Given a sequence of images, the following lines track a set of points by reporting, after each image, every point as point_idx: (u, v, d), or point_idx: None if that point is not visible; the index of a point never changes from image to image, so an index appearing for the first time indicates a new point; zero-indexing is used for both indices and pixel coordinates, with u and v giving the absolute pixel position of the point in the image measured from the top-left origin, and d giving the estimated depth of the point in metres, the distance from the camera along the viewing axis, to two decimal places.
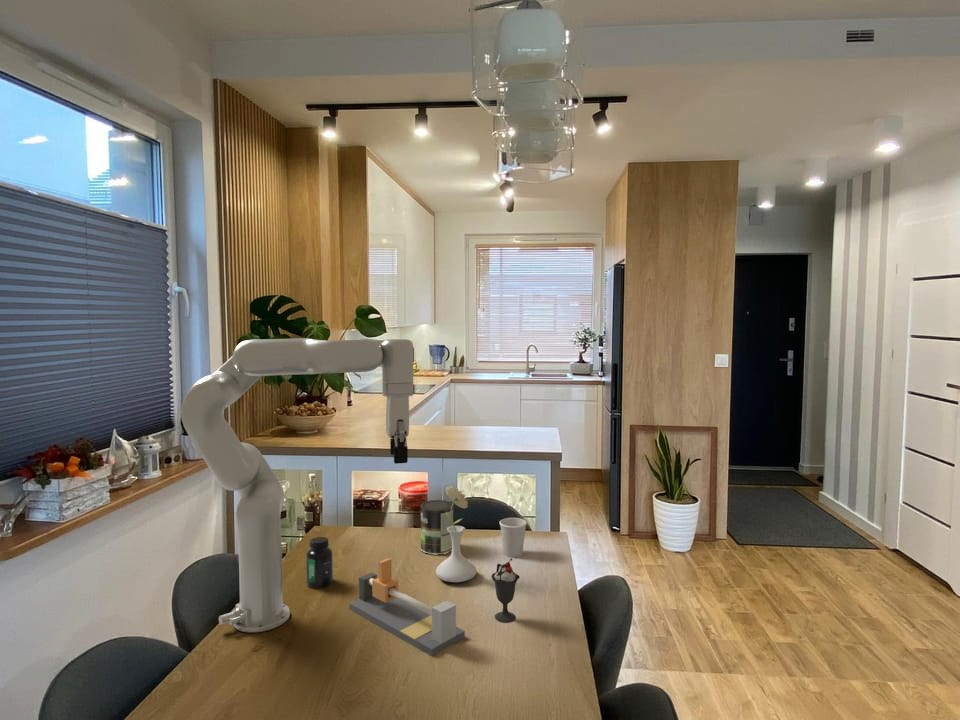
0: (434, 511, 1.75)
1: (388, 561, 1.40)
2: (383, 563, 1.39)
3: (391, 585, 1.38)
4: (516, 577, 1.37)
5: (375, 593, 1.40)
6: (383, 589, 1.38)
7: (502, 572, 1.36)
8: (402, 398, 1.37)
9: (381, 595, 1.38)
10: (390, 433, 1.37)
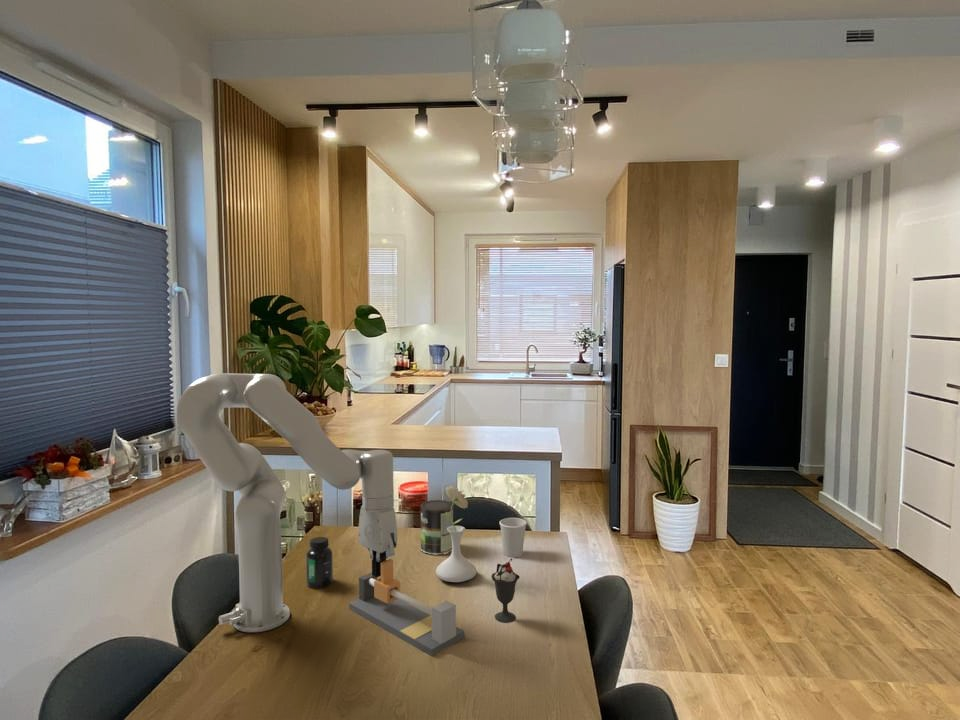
0: (434, 511, 1.75)
1: (390, 562, 1.40)
2: (385, 564, 1.38)
3: (393, 586, 1.38)
4: (516, 577, 1.37)
5: (377, 594, 1.39)
6: (384, 590, 1.37)
7: (502, 572, 1.36)
8: (391, 511, 1.38)
9: (383, 596, 1.38)
10: (383, 549, 1.36)
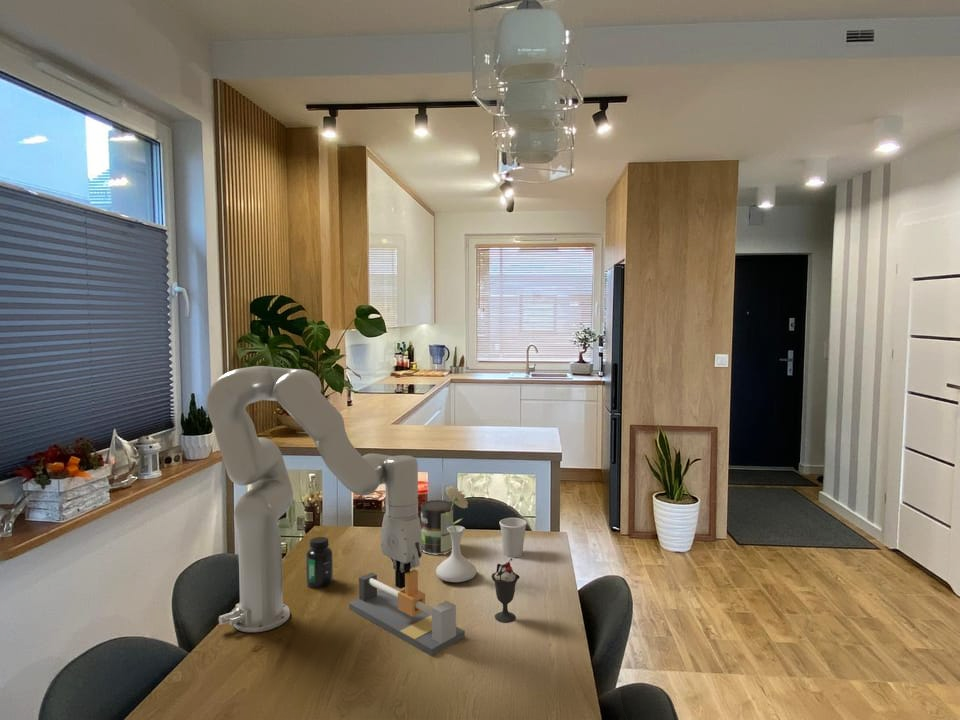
0: (434, 511, 1.75)
1: (415, 573, 1.33)
2: (409, 575, 1.32)
3: (418, 598, 1.32)
4: (516, 577, 1.37)
5: (401, 606, 1.33)
6: (409, 602, 1.31)
7: (502, 572, 1.36)
8: (416, 519, 1.32)
9: (407, 608, 1.32)
10: (408, 559, 1.30)
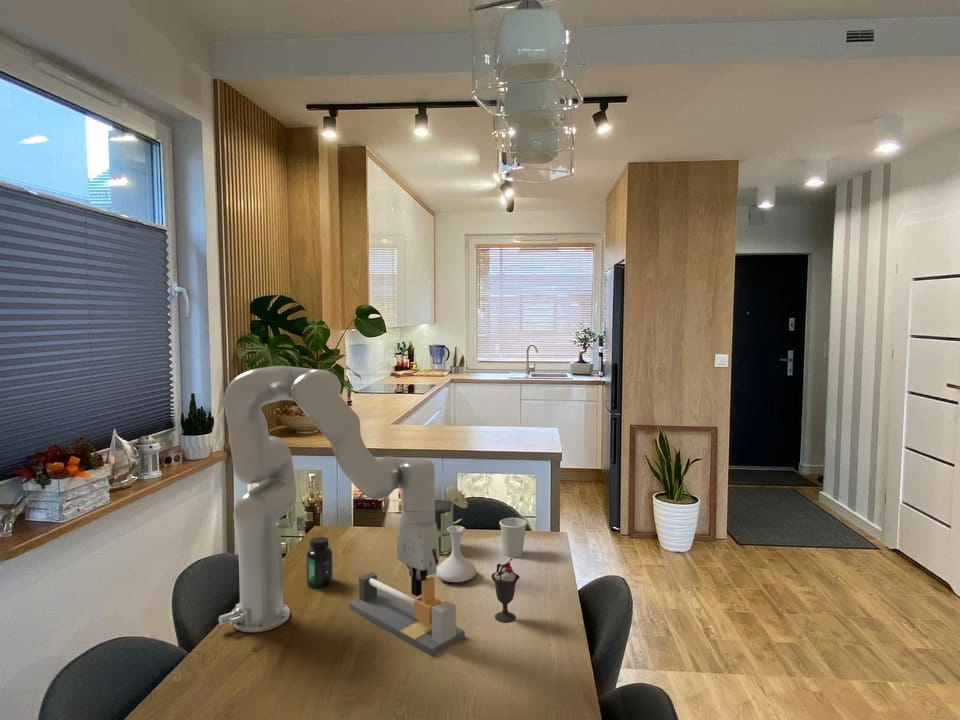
0: None
1: (431, 580, 1.30)
2: (426, 582, 1.28)
3: None
4: (516, 577, 1.37)
5: (417, 615, 1.29)
6: (426, 610, 1.27)
7: (502, 572, 1.36)
8: (433, 525, 1.28)
9: (424, 617, 1.28)
10: (425, 566, 1.26)
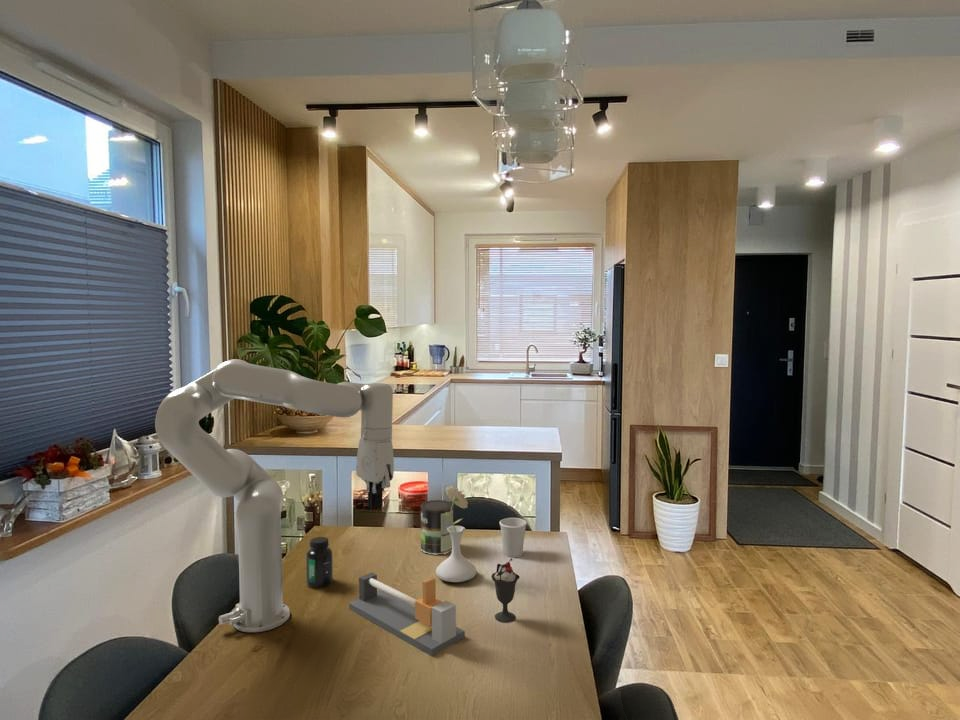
0: (434, 511, 1.75)
1: (432, 581, 1.29)
2: (427, 583, 1.28)
3: None
4: (516, 577, 1.37)
5: (418, 615, 1.29)
6: (427, 611, 1.27)
7: (502, 572, 1.36)
8: (388, 443, 1.39)
9: (425, 618, 1.27)
10: (379, 479, 1.37)
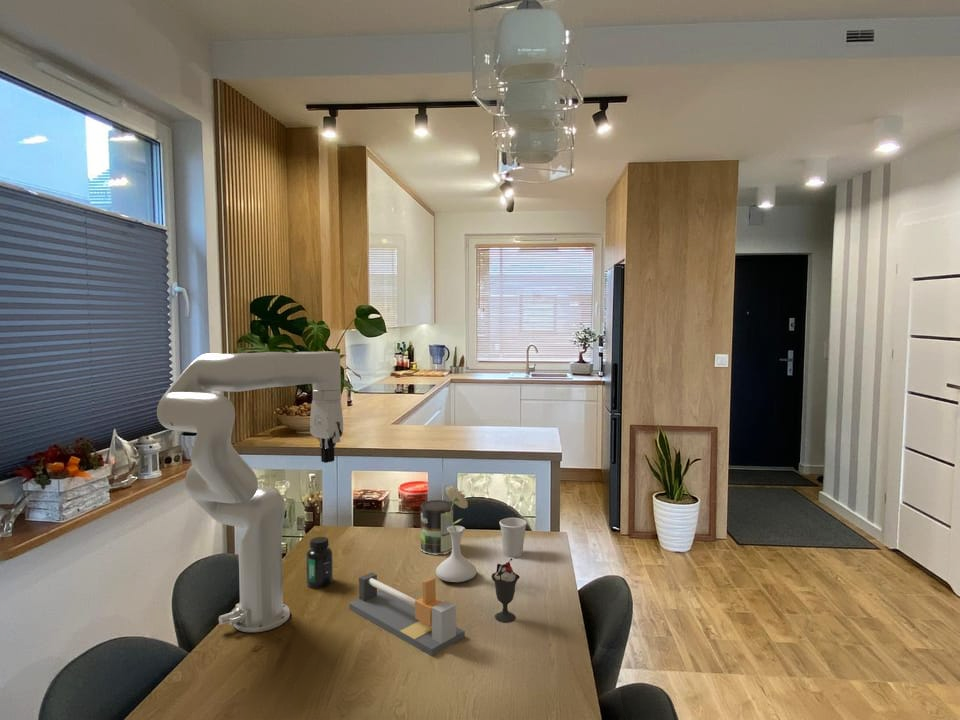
0: (434, 511, 1.75)
1: (432, 581, 1.29)
2: (427, 583, 1.28)
3: None
4: (516, 577, 1.37)
5: (418, 615, 1.29)
6: (427, 611, 1.27)
7: (502, 572, 1.36)
8: (337, 403, 1.57)
9: (425, 618, 1.27)
10: (329, 434, 1.55)
